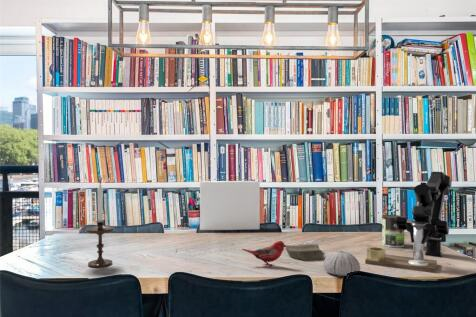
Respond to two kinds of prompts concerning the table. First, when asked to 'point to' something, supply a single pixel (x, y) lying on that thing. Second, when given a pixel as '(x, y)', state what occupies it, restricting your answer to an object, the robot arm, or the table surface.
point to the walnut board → (404, 263)
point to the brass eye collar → (375, 254)
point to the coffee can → (391, 232)
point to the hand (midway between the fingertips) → (417, 242)
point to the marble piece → (305, 252)
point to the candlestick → (100, 233)
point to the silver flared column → (418, 240)
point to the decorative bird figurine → (269, 252)
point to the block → (229, 205)
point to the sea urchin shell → (341, 263)
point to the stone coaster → (417, 263)
